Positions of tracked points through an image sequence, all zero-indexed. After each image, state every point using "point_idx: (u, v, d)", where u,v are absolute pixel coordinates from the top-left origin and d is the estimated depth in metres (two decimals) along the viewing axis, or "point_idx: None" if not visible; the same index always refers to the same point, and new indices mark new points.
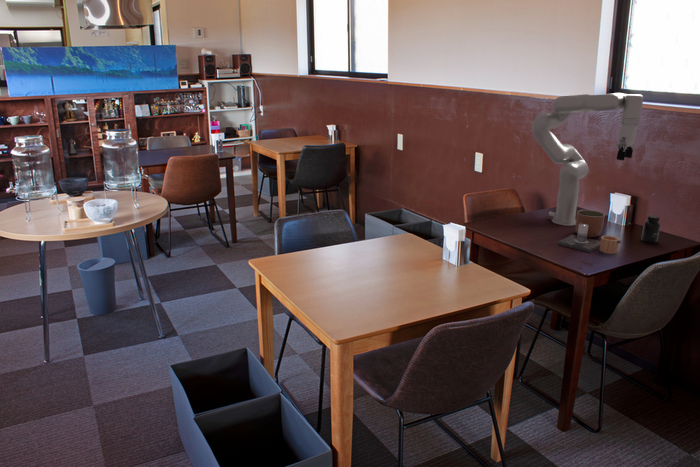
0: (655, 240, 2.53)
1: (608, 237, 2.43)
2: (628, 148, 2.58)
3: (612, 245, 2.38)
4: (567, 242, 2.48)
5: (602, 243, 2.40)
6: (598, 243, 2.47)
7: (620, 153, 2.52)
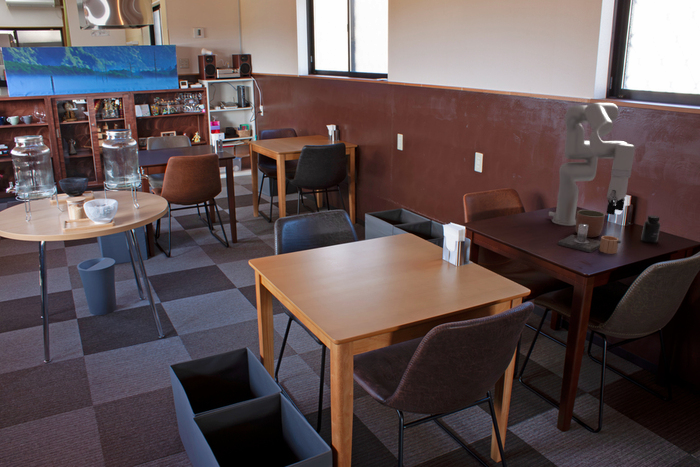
0: (655, 240, 2.53)
1: (608, 237, 2.43)
2: (619, 200, 2.38)
3: (612, 245, 2.38)
4: (567, 242, 2.48)
5: (602, 243, 2.40)
6: (598, 243, 2.47)
7: (610, 207, 2.32)
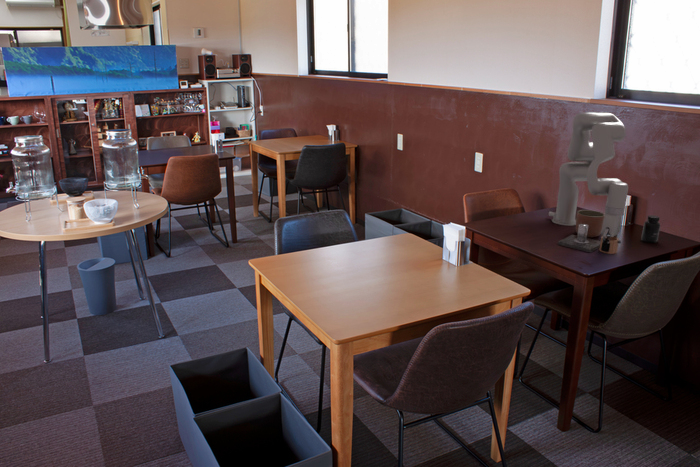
0: (655, 240, 2.53)
1: None
2: None
3: (612, 245, 2.38)
4: (567, 242, 2.48)
5: None
6: (598, 243, 2.47)
7: (605, 244, 2.38)
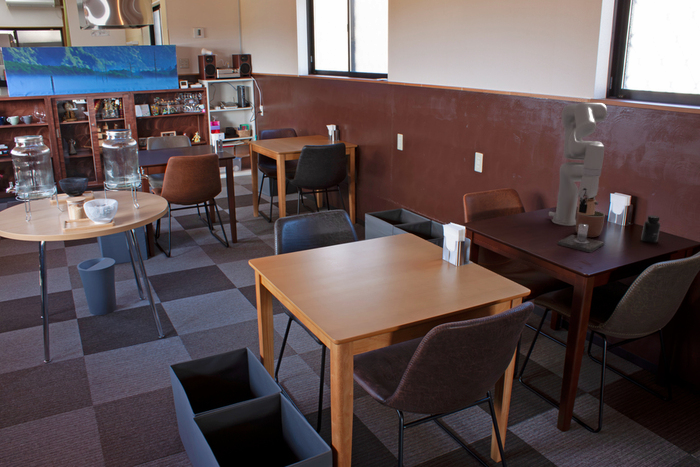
0: (655, 240, 2.53)
1: None
2: None
3: (590, 207, 2.40)
4: (567, 242, 2.48)
5: None
6: (598, 243, 2.47)
7: (582, 206, 2.40)
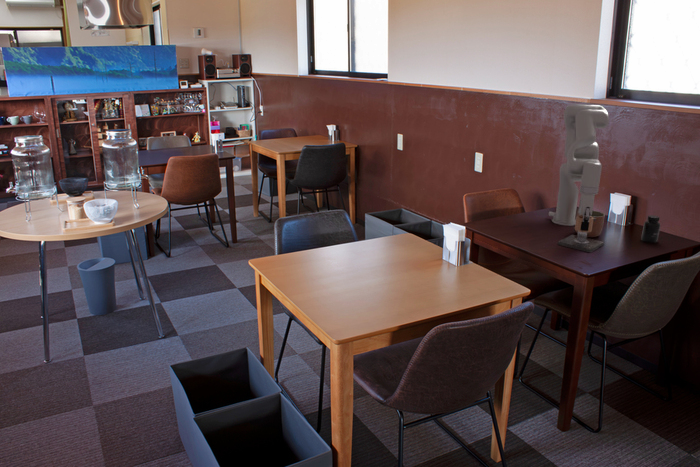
0: (655, 240, 2.53)
1: (580, 217, 2.48)
2: None
3: (590, 224, 2.43)
4: (567, 242, 2.48)
5: (580, 223, 2.44)
6: (598, 243, 2.47)
7: (585, 224, 2.42)
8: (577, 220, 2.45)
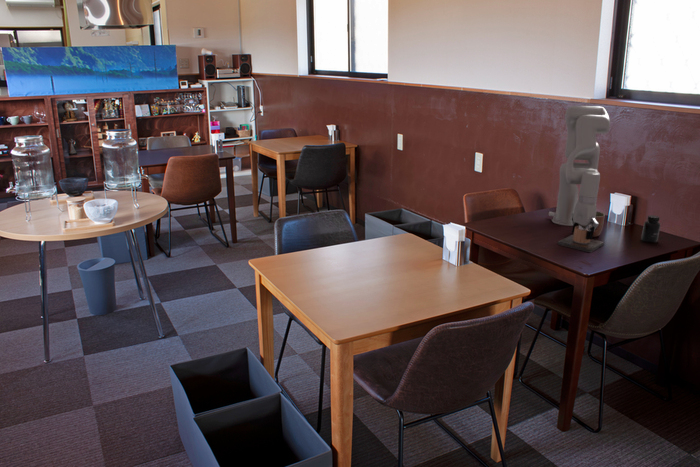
0: (655, 240, 2.53)
1: (576, 228, 2.49)
2: (576, 224, 2.51)
3: None
4: (567, 242, 2.48)
5: (583, 235, 2.45)
6: (598, 243, 2.47)
7: (591, 233, 2.42)
8: (579, 232, 2.46)
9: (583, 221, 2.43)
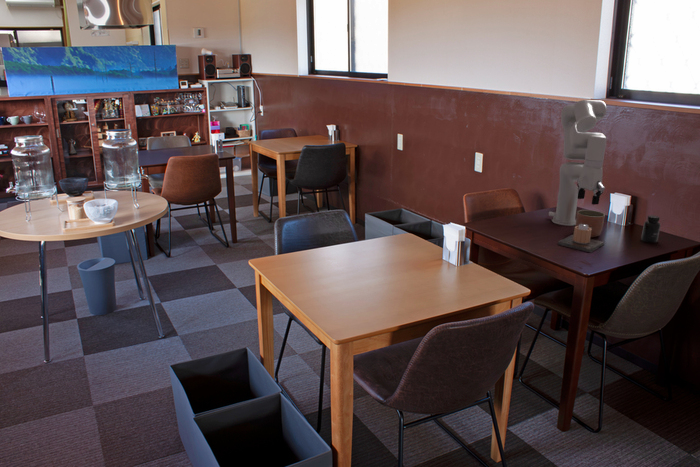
0: (655, 240, 2.53)
1: (576, 228, 2.49)
2: (581, 189, 2.47)
3: (590, 234, 2.46)
4: (567, 242, 2.48)
5: (583, 235, 2.45)
6: (598, 243, 2.47)
7: (597, 197, 2.37)
8: (579, 232, 2.46)
9: (589, 186, 2.38)
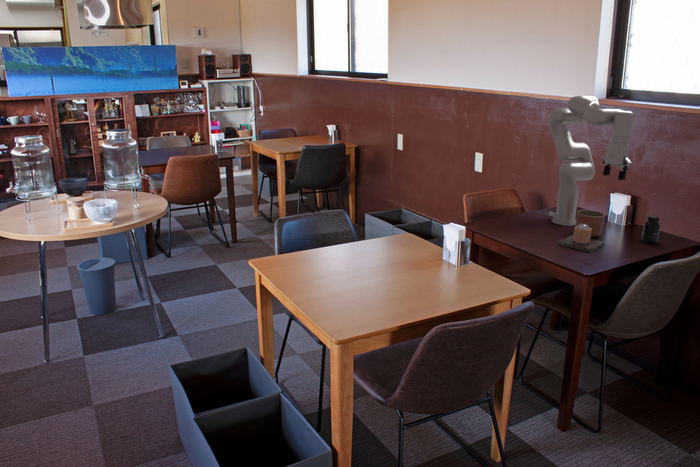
0: (655, 240, 2.53)
1: (576, 228, 2.49)
2: (607, 166, 2.49)
3: (590, 234, 2.46)
4: (567, 242, 2.48)
5: (583, 235, 2.45)
6: (598, 243, 2.47)
7: (624, 173, 2.40)
8: (579, 232, 2.46)
9: (615, 161, 2.40)
